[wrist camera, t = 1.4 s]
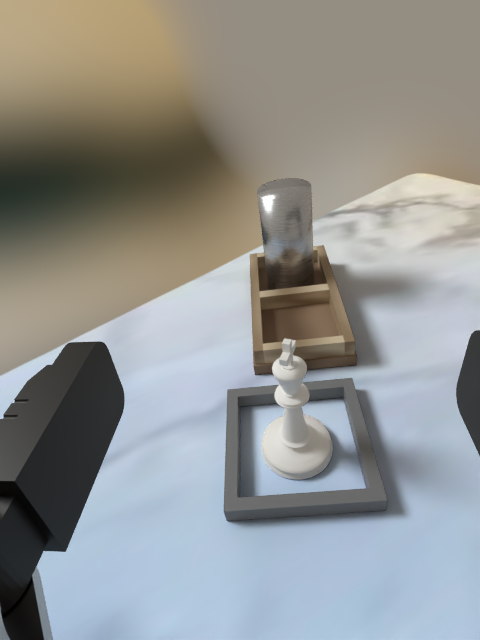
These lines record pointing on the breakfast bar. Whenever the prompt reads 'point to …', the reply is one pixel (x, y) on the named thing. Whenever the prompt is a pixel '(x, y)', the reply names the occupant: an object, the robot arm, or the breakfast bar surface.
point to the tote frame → (301, 502)
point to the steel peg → (287, 232)
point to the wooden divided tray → (300, 318)
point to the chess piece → (294, 424)
